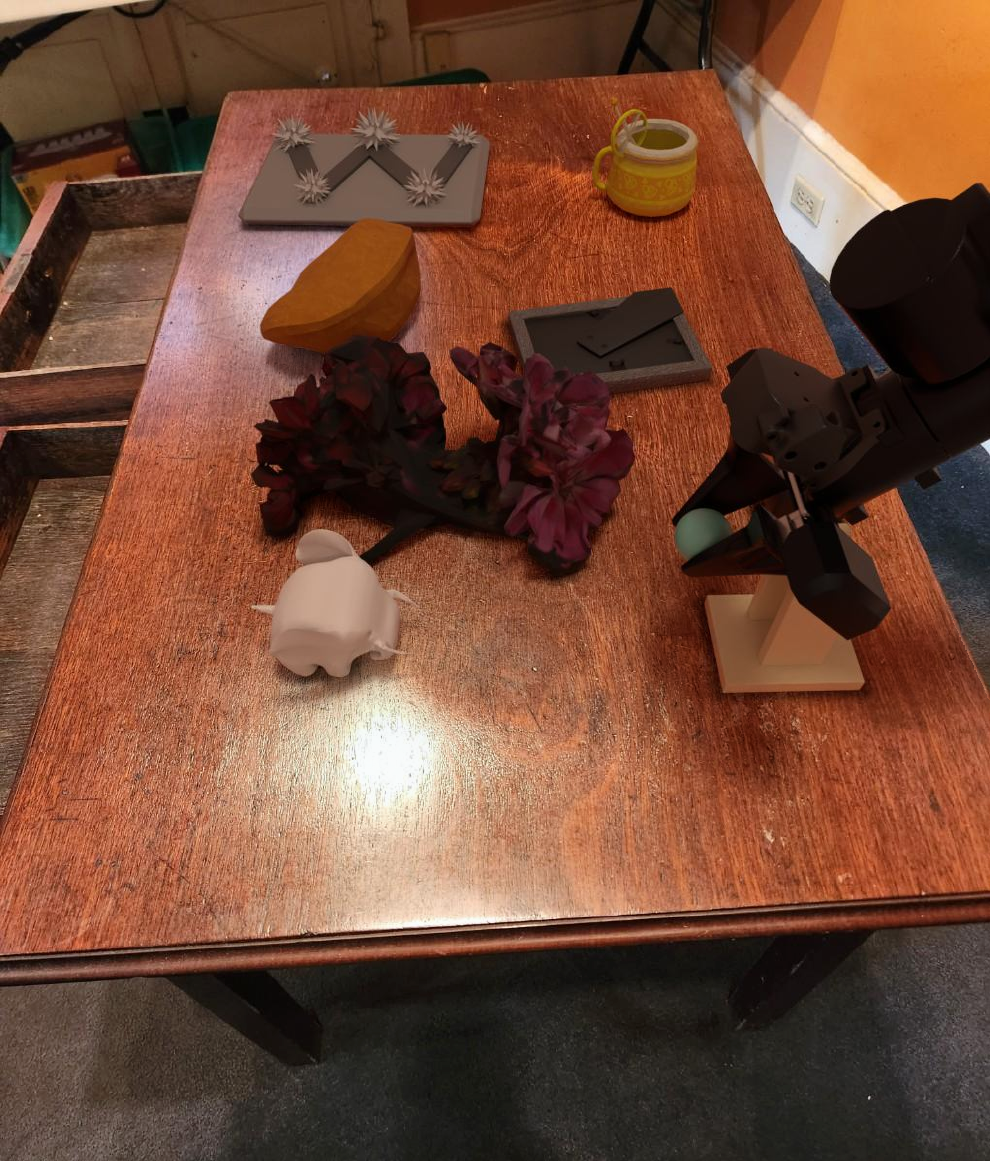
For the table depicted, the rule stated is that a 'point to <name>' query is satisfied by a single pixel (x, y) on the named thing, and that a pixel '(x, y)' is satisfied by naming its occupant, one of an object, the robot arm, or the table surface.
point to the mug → (649, 165)
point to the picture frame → (615, 340)
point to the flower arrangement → (447, 477)
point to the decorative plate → (369, 177)
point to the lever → (700, 531)
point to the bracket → (778, 642)
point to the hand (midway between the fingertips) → (679, 548)
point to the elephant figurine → (332, 609)
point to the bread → (350, 290)
